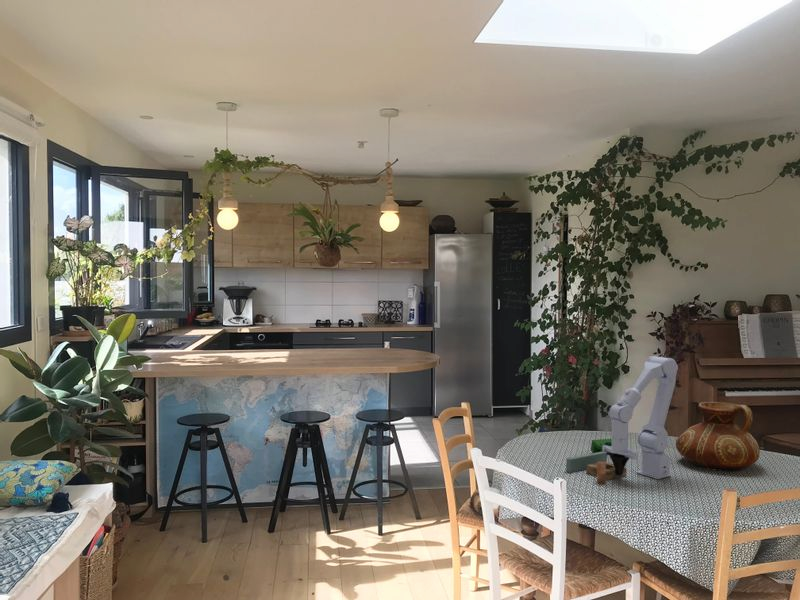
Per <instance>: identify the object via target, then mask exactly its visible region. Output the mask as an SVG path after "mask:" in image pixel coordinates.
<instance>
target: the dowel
mask: <svg viewBox="0 0 800 600" xmlns="http://www.w3.org/2000/svg"><path fill="white" fill-rule="evenodd" d="M606 481H607V480H606V463H605V462H597V476H596V483H598V484H606Z"/></svg>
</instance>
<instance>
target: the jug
mask: <svg viewBox="0 0 800 600" xmlns="http://www.w3.org/2000/svg"><path fill="white" fill-rule="evenodd" d="M697 407H698V409H699V410H700V413H701V416H702V417H703V421H702V422H700V423H697V424H695V425H692V426H690V427H688V428H687V429H686V430H685V431H683V432H682V433H681V434H680V435H679V436H678V437H677V439H676V440H675V447H676V450H677V452H678V454H680V456H682V457H684V458H685V459H687V460H688V461H690V462H691V463H692V464H694V465H696V466H698V467H700V466H701V468H703V467H704V468H705V469H708V468H709V469H708V470H712V469H715V471H720V470H722V471H721V472H740V471H742V470H745V469H746V468H749V467H751V466H752V465H754V464H756V463H757V461H758V460H759V457H760V453H761V452H760V451H761V450H760V447H759V443H758V442H757V440H756V439H755V438H754V437H753V436H752V434H751V433H749V429H750V428H751V425H752V422H753V419H754V418H753V417H754V416H753V411H752V410H751V408H750V407H749V406H747V405H746V404H740V405H739V404H735V403H730V402H721V401H720V402H719V401H718V402H717V401H702V402H700V403H698V404H697ZM741 410H743V413H744V421H743V424H742V426H741V427H740V426H738V425H737V424H736V421H737V419H738V416H739V414H740V412H741ZM704 468H703V469H704Z"/></svg>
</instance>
